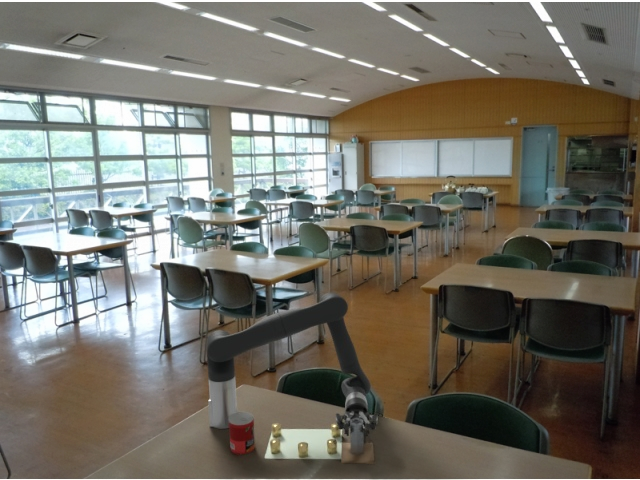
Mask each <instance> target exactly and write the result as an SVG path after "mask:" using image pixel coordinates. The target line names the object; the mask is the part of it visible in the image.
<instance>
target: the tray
mask: <svg viewBox="0 0 640 480" xmlns="http://www.w3.org/2000/svg"><path fill="white" fill-rule="evenodd" d="M363 449H364V453H363V454H360V455H355V454H352V453H351V442H342V451H341V459H340V461H341V464H367V465H375V455H374V453H375V451H374V444H373V442H363Z"/></svg>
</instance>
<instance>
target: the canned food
mask: <svg viewBox="0 0 640 480" xmlns="http://www.w3.org/2000/svg"><path fill="white" fill-rule="evenodd" d="M254 420H255V418H254V415H253V414H252V413H251V412H247V411H237V413H234V414H232V415H231V416H230V417H229V428H228V429H229V431H228V432H229V445H230V451H231V452H232V453H233V454H234V455H238V456H241V455H246V454H250V453H251V452H253V451H254V449H255V447H256V443H255V442H256V441H255V438H256V437H255V421H254Z"/></svg>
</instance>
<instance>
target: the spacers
mask: <svg viewBox="0 0 640 480" xmlns="http://www.w3.org/2000/svg"><path fill="white" fill-rule="evenodd" d="M281 429H282V424H281V423H280V422H279V423H278V422H275V423H271V433H272V436H273V437H275V438H277V437H280V436H281V435H282V434H281ZM330 429H331V436H332V437H333V438H338V437H340V436H341V429H339V428H338V425H337V423H335V422H334V423H332V424H330ZM270 449H271V453H272V454H279V453H280V452H281V447H280V440H279V439H272V440H271V441H270ZM327 453H328V454H331V455H333V454H336V453H337V440H335V439H329V440H327ZM298 456H299V457H300V458H306V457H308V443H306V442H300V443H299V444H298Z"/></svg>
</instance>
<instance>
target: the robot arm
mask: <svg viewBox="0 0 640 480" xmlns="http://www.w3.org/2000/svg"><path fill="white" fill-rule="evenodd" d="M348 309H349V304H348V302H347V301H346V299H345V298H344V297H342V296H341V295H340V294H338V293H335V292H330V291H329V292H326V293H324V294H323V295H322V296H321V297H320V299H319V301H318V302H317V303H314V304H311V305H309V306H307V307H301V308H294V309H293V308H292V309H286V310H282V311H279V312H275V313H273V314H270V315H268V316H265V317H264V318H261V319H259V320H258V321H256V322H254V324H252V325H251V326H249V327H248V328H246V329H244V330H241V331H239V332H235V333H231V334H230V333H229V332H227V331H225V330H221V329H219V330H215V331H213V332H211V333H210V334H209V335H208V337H207V339H206V345H205V346H206V359H207V375H208V378H207V379H208V390H209V399H208V401H207V403H208V419H209V420H208V421H209V427H212V428H215V429H220V430H224V429H229V417H230V416H231V415H232V414H234V413H237V412H238V406H237V404H238V403H237V402H238V401H237V388H236V387H237V386H236V369H235V367H236V366H235V358H236V357H238V356H239V355H242V354H244V353H246V352H248V351H251V350H253V349H257V348H260V347H263V346H265V345H268V344H271V343H275V342H277V341H280V340H283V339H285V338H288V337H291V336H293V335H296V334H298V333H301V332H303V331H306V330H308V329H310V328H312V327H313V328H314V327H316V326H317V327H318V326H320V325H324V324H326V325H327V327H328V329H329V330H328V331H329V332H330V335H331V338H332V343H333V345H334V349H335V352H336V353H335V354H336V356H337V360H338V361H337V362H338V363H339V367H340V371H341V372H342V373H343V374H346V375H355V376H351V377H348V378H345V379H344V380H343V381H342V382H341V391H342V394H343V395H344V397H345V405H344V406H345V407H344V408H345V409H344V410H345V412H344V413H343V414H341V413H335V422H336V423H337V425H338V428H339V429H342V430H343V433H344V435H346V437H350V419H354V418H359V419H363V429H364V433H365V437H369V435H370V433H371V430H375V429H377V425H378V421H379V420H378V419H379V418H378V417H379V416H378V413H374V414H372V415H371V414H370V413H369V411H368V409H369V408H368V406H369V405H368V401H367V394H369V393H370V392H371V382H370V380H369V378H368V377H367V375H366V373H365V372H364V370H363V369H362V367H361V365H360V361H359V358H358V355H357V350H356V348H355V345H354V343H353V340H352V339H351V337H350V334H349V331H348V329H347V325H346V323H345V319H344V317H345V316H346V315H347V313H348ZM343 420H344V421H343ZM370 421H371V422H370Z"/></svg>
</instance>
